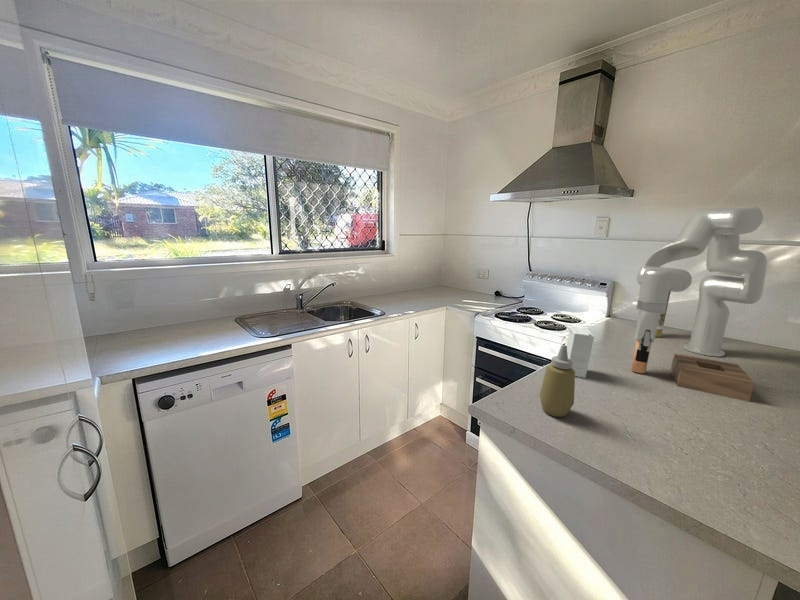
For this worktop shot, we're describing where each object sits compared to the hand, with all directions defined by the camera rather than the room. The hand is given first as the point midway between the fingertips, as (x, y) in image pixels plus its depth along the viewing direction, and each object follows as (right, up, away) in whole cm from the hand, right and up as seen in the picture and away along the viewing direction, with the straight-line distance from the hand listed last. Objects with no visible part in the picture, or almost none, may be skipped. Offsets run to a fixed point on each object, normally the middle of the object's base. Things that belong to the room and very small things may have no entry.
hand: (640, 358), depth 110 cm
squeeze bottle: (-42, -9, -26) cm, 50 cm away
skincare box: (-23, -5, -1) cm, 24 cm away
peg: (0, -4, +1) cm, 4 cm away
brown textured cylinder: (+38, +3, +44) cm, 58 cm away
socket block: (+16, -7, -6) cm, 19 cm away
